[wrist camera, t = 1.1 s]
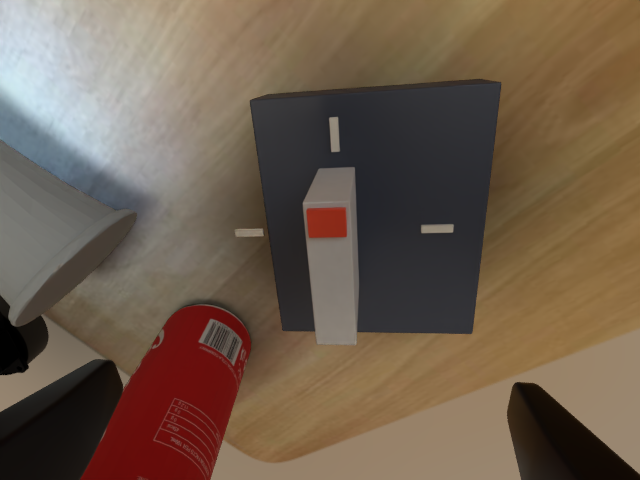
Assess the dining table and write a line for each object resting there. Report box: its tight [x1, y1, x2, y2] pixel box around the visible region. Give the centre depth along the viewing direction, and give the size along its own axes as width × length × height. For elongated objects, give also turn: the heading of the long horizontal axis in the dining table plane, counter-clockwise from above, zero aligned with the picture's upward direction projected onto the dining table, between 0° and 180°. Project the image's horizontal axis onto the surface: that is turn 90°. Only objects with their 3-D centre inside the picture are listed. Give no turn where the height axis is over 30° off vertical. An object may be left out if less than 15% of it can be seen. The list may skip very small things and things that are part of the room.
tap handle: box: [303, 167, 359, 345], centre depth 16 cm, size 6×2×5 cm, turn 4°
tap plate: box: [235, 79, 501, 334], centre depth 19 cm, size 12×12×3 cm
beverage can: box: [80, 304, 251, 480], centre depth 19 cm, size 6×6×15 cm
